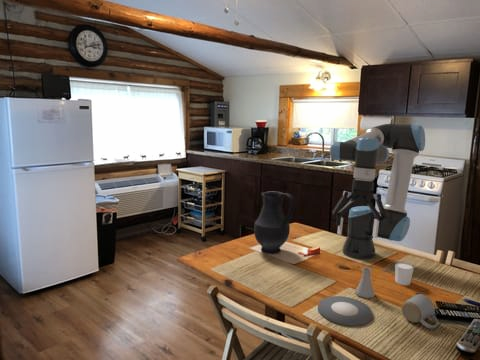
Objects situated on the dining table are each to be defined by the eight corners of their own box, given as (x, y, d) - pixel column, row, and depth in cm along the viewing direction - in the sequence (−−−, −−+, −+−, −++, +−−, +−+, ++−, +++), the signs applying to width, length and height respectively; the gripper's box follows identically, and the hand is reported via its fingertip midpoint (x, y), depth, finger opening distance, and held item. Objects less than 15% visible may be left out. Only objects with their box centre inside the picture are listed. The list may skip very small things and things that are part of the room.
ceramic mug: (398, 317, 126) (401, 296, 125) (412, 310, 131) (414, 290, 130) (429, 333, 118) (432, 311, 116) (442, 325, 123) (445, 303, 121)
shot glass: (411, 280, 155) (412, 264, 154) (412, 287, 149) (414, 270, 147) (393, 277, 157) (394, 261, 156) (394, 284, 151) (395, 268, 150)
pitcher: (268, 241, 197) (271, 185, 191) (301, 252, 183) (305, 192, 177) (246, 250, 184) (247, 190, 179) (279, 262, 170) (282, 198, 165)
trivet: (354, 296, 140) (354, 293, 140) (383, 322, 123) (383, 319, 123) (309, 301, 136) (309, 298, 136) (332, 329, 119) (333, 325, 119)
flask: (376, 299, 138) (378, 274, 136) (355, 297, 140) (357, 272, 138) (373, 290, 145) (375, 266, 143) (353, 288, 147) (355, 264, 145)
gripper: (333, 178, 135) (327, 235, 137) (401, 183, 136) (393, 240, 138) (327, 176, 143) (321, 230, 145) (392, 181, 144) (385, 235, 146)
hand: (357, 235), depth 142 cm, fingers open, 13 cm apart
